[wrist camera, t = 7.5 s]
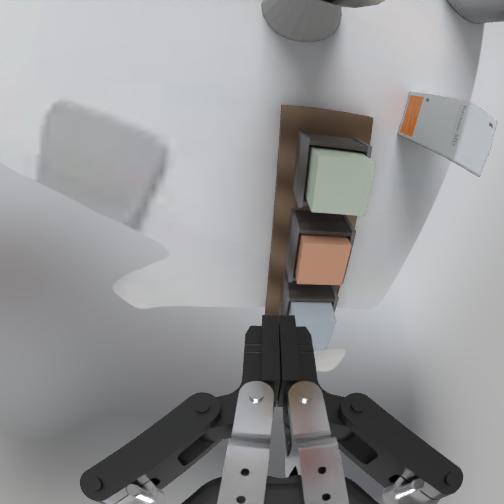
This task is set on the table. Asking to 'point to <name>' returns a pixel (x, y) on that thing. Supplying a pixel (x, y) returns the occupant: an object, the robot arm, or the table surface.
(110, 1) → the table surface
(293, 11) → the lava lamp
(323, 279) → the terracotta block
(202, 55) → the table surface
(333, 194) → the sage block
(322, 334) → the grey block
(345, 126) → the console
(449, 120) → the skincare box
